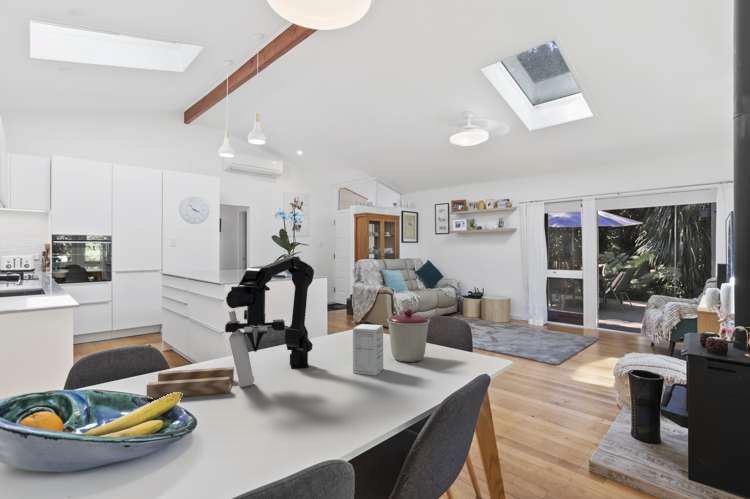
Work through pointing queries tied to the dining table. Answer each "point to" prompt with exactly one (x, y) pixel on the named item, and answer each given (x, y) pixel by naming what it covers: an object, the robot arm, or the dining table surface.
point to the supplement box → (368, 349)
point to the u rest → (192, 382)
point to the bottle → (240, 355)
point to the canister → (408, 336)
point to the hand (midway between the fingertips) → (255, 351)
